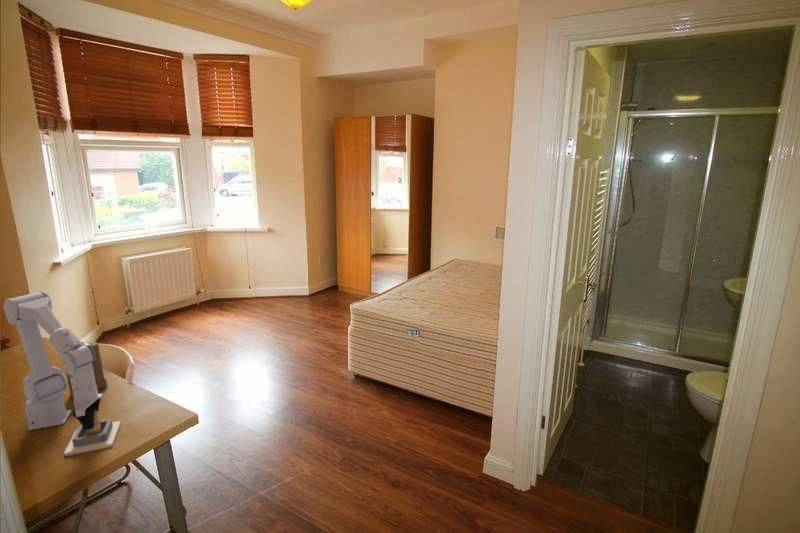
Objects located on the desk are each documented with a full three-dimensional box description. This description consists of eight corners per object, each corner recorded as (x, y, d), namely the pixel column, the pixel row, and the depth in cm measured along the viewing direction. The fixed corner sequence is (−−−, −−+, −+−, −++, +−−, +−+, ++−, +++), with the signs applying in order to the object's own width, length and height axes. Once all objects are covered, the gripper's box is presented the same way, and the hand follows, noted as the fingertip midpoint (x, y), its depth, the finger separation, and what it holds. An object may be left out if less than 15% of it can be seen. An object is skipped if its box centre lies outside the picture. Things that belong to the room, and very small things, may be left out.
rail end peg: (84, 441, 128) (80, 418, 126) (88, 433, 131) (83, 411, 129) (100, 438, 129) (96, 415, 127) (103, 430, 133) (99, 408, 131)
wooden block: (70, 394, 154) (61, 350, 149) (104, 383, 162) (97, 340, 157) (72, 398, 152) (63, 353, 147) (107, 387, 159) (99, 343, 155)
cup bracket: (64, 456, 123) (62, 445, 122) (77, 431, 134) (75, 422, 133) (112, 446, 127) (110, 436, 127) (121, 423, 138) (119, 414, 137)
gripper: (93, 394, 121) (100, 434, 124) (105, 371, 134) (112, 408, 137) (63, 399, 118) (72, 440, 122) (78, 374, 131) (86, 412, 134)
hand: (91, 423), depth 129 cm, fingers open, 4 cm apart
